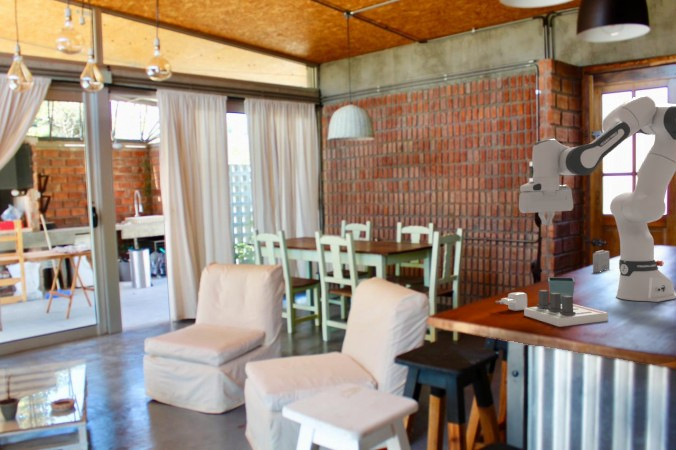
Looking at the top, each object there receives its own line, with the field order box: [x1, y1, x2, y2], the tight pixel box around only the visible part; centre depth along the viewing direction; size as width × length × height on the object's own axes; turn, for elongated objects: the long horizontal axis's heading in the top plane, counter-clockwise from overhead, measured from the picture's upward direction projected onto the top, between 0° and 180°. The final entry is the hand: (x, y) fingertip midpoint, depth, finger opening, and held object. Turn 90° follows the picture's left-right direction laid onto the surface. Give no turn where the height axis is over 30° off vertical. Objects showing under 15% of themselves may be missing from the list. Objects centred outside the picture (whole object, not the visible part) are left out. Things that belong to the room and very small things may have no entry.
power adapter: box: [495, 291, 528, 311], centre depth 204 cm, size 11×5×6 cm, turn 111°
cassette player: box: [592, 249, 611, 273], centre depth 288 cm, size 16×3×10 cm, turn 138°
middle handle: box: [548, 292, 562, 312], centre depth 188 cm, size 3×3×6 cm
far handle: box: [536, 289, 550, 309], centre depth 194 cm, size 3×3×6 cm
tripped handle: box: [560, 296, 575, 316], centre depth 182 cm, size 3×3×6 cm
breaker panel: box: [523, 303, 609, 327], centre depth 189 cm, size 18×18×3 cm
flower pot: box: [547, 276, 576, 304], centre depth 212 cm, size 9×9×9 cm
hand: (546, 224), depth 207 cm, fingers closed
